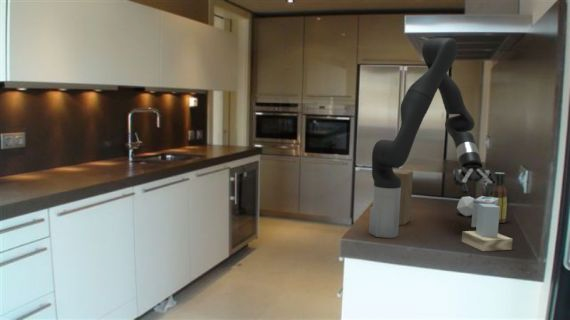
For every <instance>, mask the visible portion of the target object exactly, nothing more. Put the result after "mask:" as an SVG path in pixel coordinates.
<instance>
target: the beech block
mask: <svg viewBox="0 0 570 320" xmlns="http://www.w3.org/2000/svg"><path fill="white" fill-rule="evenodd" d="M513 240H514V239H513V238H512V237H509V236H506V235H503V234H501V233H499V232H498V236H497V237H482V236H480V235H479V234H477V233H476V230H468V231H467V230H465V231H463V230H462V233H461V242H462V243H464V244H465V245H468V246H471V247H473V248H475V249H476V250H479V251H482V252H492V251H493V252H494V251H495V252H496V251H506V250H510V251H511V250H513Z"/></svg>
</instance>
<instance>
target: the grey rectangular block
mask: <svg viewBox="0 0 570 320" xmlns="http://www.w3.org/2000/svg"><path fill="white" fill-rule="evenodd" d="M499 213H500V207H498V206H496V205H494V204H478V214H477V227H476V228H475V229H476V230H475V231H476V233H477V234H479V235H480V236H482V237H497V236H498V233H499V224H500V223H499Z"/></svg>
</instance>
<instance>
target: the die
mask: <svg viewBox="0 0 570 320" xmlns="http://www.w3.org/2000/svg"><path fill="white" fill-rule="evenodd" d="M475 199H476V198H474V197H471V196H470V195H469V196H462V197H461V198H460V200H459V201H458V203H457V207H456V209H457V210H458V212H459V213H460V214H461V215H463V216H464V217H472V212H473V200H475Z"/></svg>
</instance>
